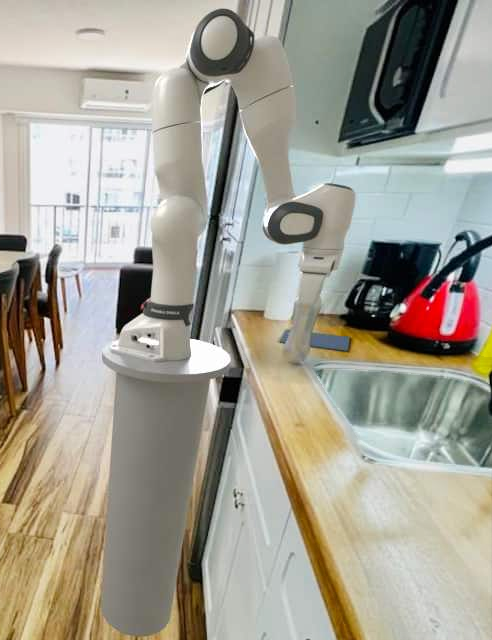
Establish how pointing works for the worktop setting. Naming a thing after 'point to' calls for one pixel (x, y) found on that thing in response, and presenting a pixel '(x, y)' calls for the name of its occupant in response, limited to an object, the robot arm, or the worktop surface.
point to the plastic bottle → (301, 333)
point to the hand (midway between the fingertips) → (304, 318)
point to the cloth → (325, 341)
